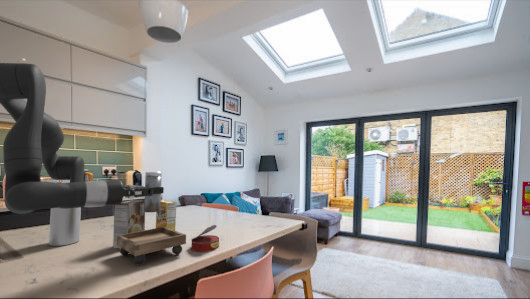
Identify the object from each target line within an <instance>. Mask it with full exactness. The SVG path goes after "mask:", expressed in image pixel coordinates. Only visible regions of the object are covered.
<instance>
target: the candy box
mask: <svg viewBox="0 0 530 299" xmlns="http://www.w3.org/2000/svg"><path fill="white" fill-rule="evenodd" d="M176 215H177V202H176V201H172V200H166V199H161V208H160V211H159V212H155V228H160V227H166V228H169V229H172V230H175V231H176V223H177V222H176V220H177V219H176V218H177V216H176Z"/></svg>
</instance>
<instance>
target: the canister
mask: <svg viewBox="0 0 530 299" xmlns="http://www.w3.org/2000/svg"><path fill="white" fill-rule="evenodd" d="M162 173H163V172H161V171H146V172H145V175H144V177H145V180H144V187H162V175H163V174H162ZM147 193H148V190H147ZM161 200H162V194H153V195H152V196H144V212H145V213H156V212H159V211H160V208H161Z"/></svg>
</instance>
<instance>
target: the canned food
mask: <svg viewBox="0 0 530 299" xmlns="http://www.w3.org/2000/svg"><path fill="white" fill-rule="evenodd" d="M215 229H217V225H216V224H212V225H211V226H208V227H207V228H205V229H204V230H203V231H202V232H201V233H200V234H198V235H197V236H196V237H193V238H191V239H190V240H191V250H192V251H195V252H209V251H210V252H211V251H214V250H217V249H219V247H220V237H218V236H217V235H207V233H210V232H211V231H213V230H215Z"/></svg>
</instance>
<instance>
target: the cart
mask: <svg viewBox="0 0 530 299" xmlns="http://www.w3.org/2000/svg"><path fill="white" fill-rule="evenodd" d="M186 244H187V234H185V233H183V232H180V231H177V230H176V229H175V230H172V229H169V228H166V227H160V228H156V227H155V228H150V229H145V230H144V231H138V232H133V233H127V234H122V235H117V245H118V246H120V247H121V248H119V253H120V254H121V255H122V256H127V255H129V254H131V255H133V256H134V257H133V262H134V263H135V265H138V266H139V265H140V266H141V265H142V264H144V263H145V261H146V258H147V257H146V255H147V254H150V253H154V252H158V251H161V250H166V249H170V248H172V249H171V251H172V253H173V254H174V255H180V254H181V253H182V252H183V246H182V245H186Z"/></svg>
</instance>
